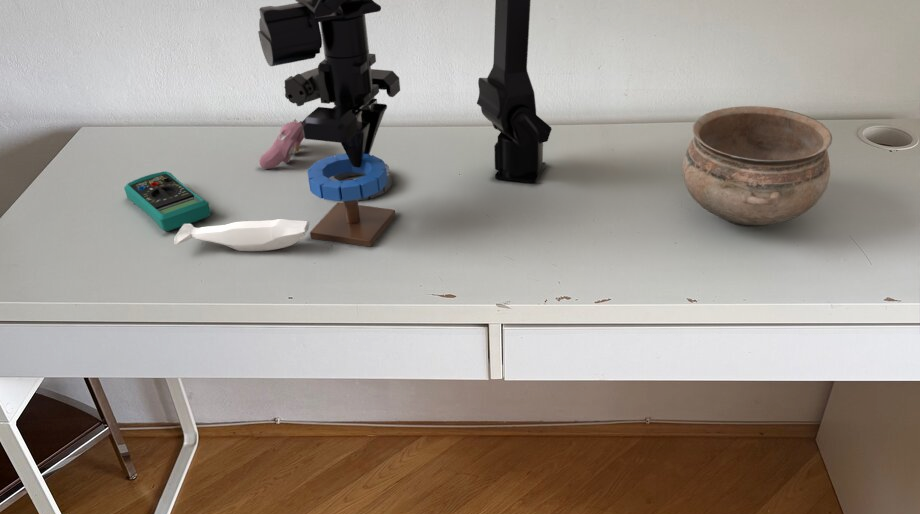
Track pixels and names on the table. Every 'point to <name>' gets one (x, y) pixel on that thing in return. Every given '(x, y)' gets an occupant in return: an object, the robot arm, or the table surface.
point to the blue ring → (349, 188)
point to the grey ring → (344, 175)
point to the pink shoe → (283, 145)
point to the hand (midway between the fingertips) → (360, 163)
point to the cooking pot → (757, 164)
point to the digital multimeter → (167, 200)
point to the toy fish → (248, 234)
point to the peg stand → (353, 223)
